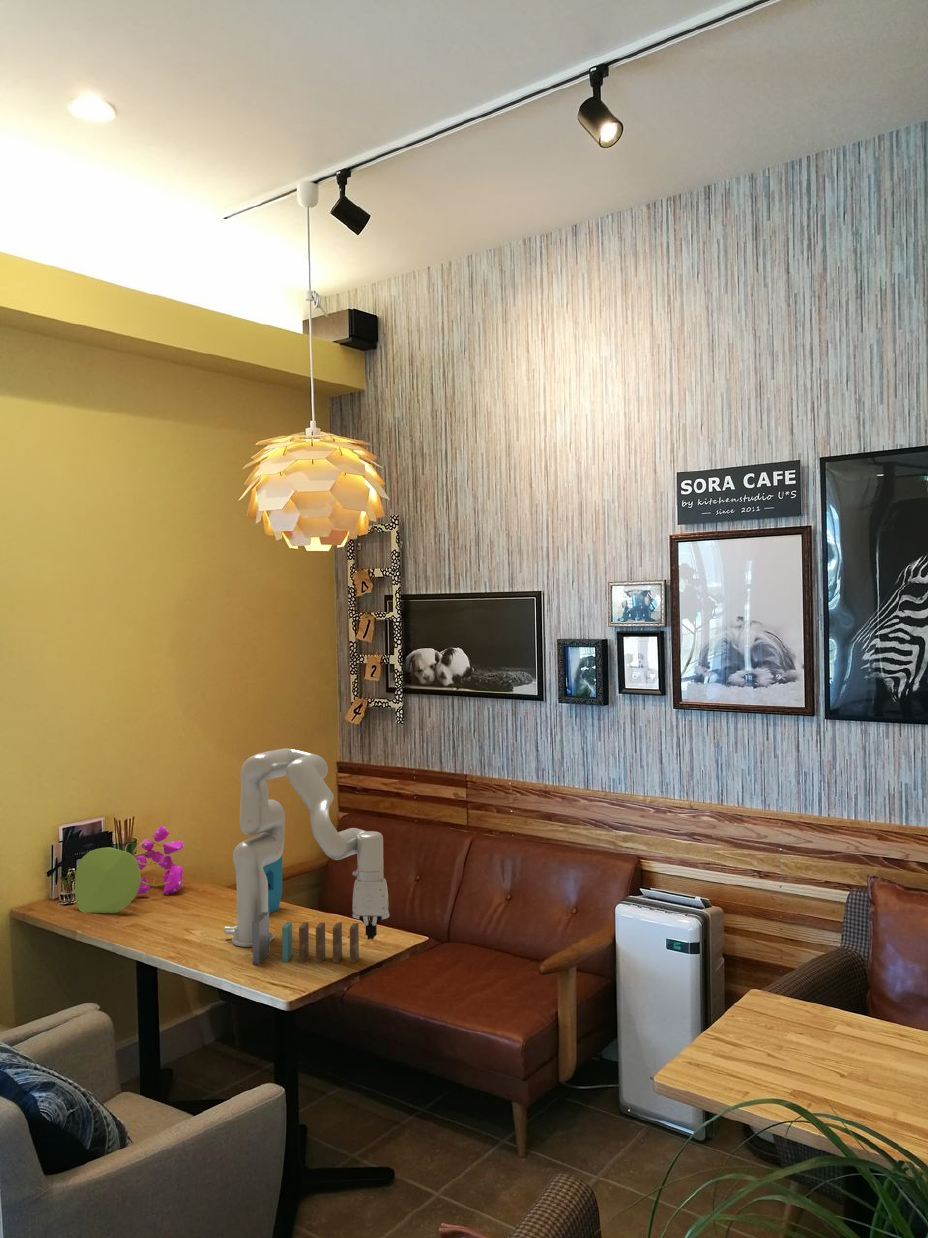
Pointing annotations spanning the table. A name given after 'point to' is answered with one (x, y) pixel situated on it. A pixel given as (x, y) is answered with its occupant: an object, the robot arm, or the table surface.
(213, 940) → the table surface
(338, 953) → the walnut tile
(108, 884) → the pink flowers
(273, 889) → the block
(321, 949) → the walnut tile
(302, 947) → the walnut tile
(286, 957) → the teal tile
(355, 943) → the walnut tile
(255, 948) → the bookend
